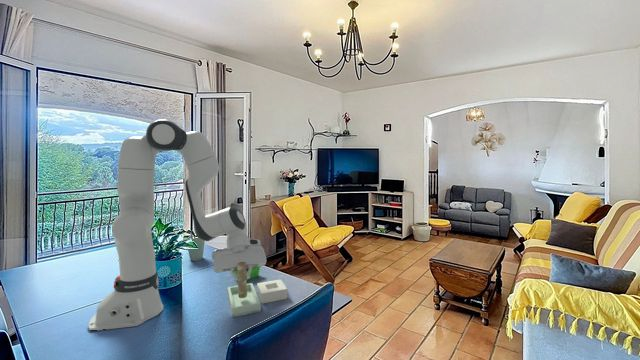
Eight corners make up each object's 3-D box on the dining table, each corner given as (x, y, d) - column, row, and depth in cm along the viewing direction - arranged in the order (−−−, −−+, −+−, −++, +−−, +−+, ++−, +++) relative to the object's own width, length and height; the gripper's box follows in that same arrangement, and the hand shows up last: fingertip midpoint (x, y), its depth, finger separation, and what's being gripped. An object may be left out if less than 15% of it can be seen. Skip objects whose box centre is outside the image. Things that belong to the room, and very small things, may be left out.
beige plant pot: (203, 254, 173) (202, 229, 172) (209, 259, 165) (208, 232, 164) (183, 258, 167) (182, 232, 166) (189, 263, 158) (187, 236, 157)
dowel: (239, 298, 113) (237, 265, 112) (238, 295, 116) (236, 262, 115) (247, 297, 115) (246, 264, 114) (246, 293, 118) (245, 261, 116)
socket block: (262, 303, 114) (261, 293, 114) (257, 292, 124) (257, 283, 123) (287, 298, 118) (287, 288, 118) (281, 288, 127) (280, 279, 127)
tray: (232, 317, 105) (231, 309, 105) (227, 294, 123) (227, 287, 123) (260, 311, 109) (260, 303, 109) (252, 289, 126) (252, 282, 126)
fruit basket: (242, 284, 132) (241, 259, 132) (230, 279, 138) (229, 255, 137) (262, 275, 142) (261, 252, 141) (249, 271, 147) (248, 248, 146)
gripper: (211, 246, 117) (213, 280, 108) (263, 239, 124) (269, 271, 116) (211, 253, 121) (213, 286, 113) (262, 247, 129) (267, 277, 120)
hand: (242, 278), depth 114 cm, fingers closed on dowel, 3 cm apart
